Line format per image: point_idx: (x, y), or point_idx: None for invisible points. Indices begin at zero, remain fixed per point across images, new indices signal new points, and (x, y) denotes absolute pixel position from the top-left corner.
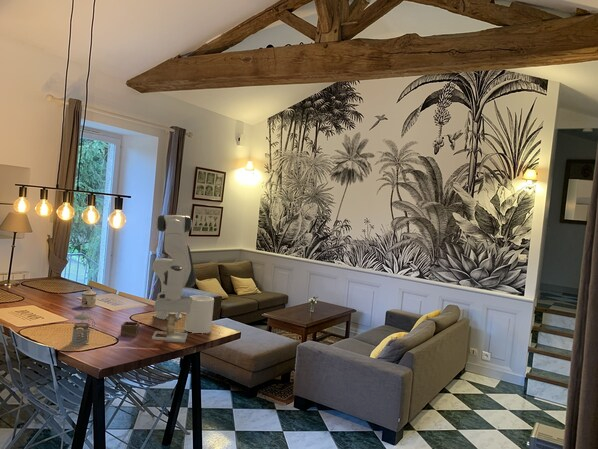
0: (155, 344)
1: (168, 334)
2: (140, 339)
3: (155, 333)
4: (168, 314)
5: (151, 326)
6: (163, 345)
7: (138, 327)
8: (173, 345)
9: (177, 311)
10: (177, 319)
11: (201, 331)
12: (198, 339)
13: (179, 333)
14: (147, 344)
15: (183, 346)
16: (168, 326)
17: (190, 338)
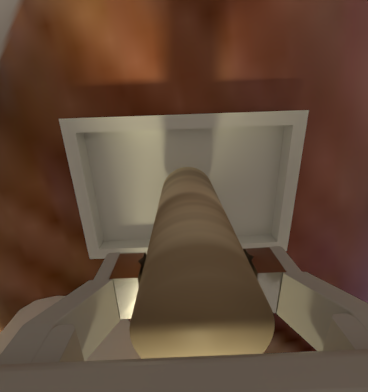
0: (263, 22)
1: (196, 170)
2: (365, 124)
3: (286, 202)
4: (267, 300)
5: (301, 347)
6: (202, 8)
7: None
8: (130, 26)
9: (37, 375)
10: (111, 253)
11: (29, 310)
12: (14, 204)
13: (137, 245)
14: (320, 8)
15: (52, 15)
16: (210, 193)
17: (67, 213)
